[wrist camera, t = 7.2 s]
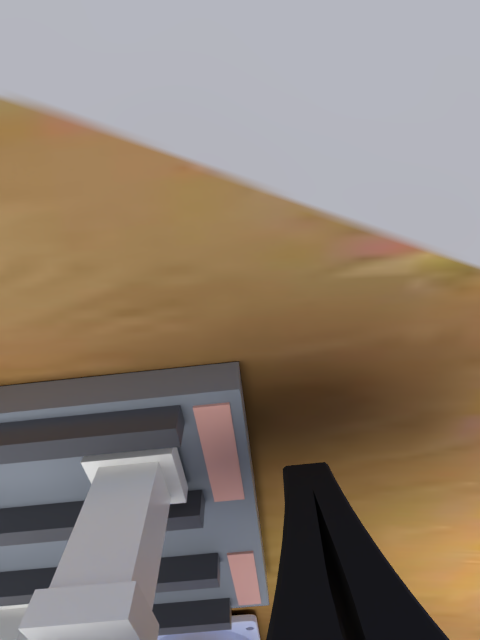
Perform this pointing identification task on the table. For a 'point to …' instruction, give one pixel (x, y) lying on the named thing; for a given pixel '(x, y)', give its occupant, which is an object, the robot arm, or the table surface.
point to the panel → (127, 436)
